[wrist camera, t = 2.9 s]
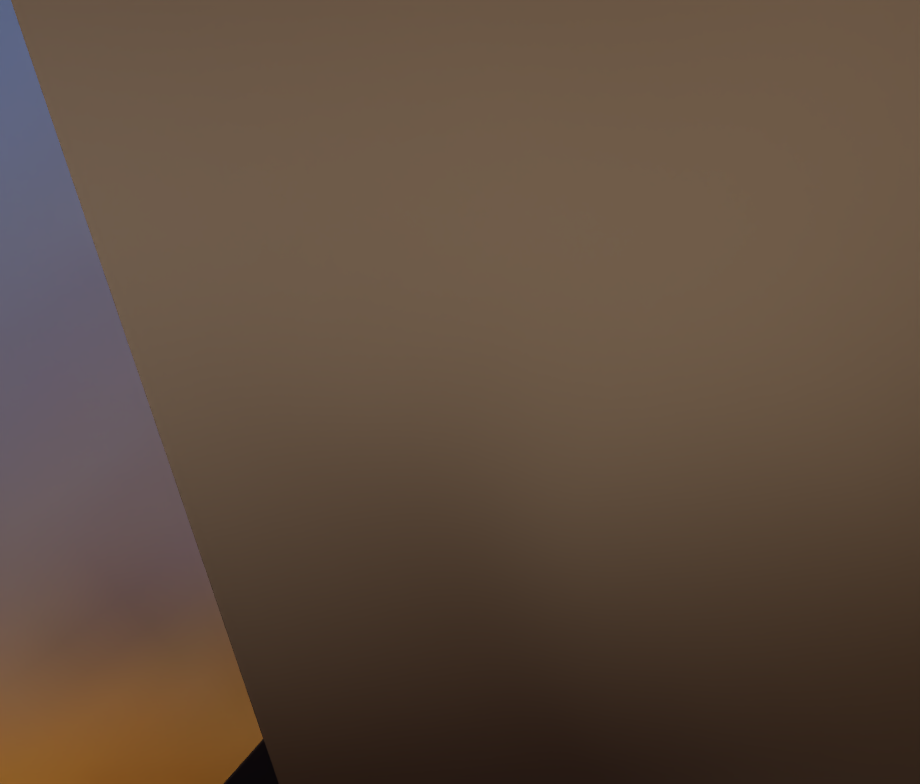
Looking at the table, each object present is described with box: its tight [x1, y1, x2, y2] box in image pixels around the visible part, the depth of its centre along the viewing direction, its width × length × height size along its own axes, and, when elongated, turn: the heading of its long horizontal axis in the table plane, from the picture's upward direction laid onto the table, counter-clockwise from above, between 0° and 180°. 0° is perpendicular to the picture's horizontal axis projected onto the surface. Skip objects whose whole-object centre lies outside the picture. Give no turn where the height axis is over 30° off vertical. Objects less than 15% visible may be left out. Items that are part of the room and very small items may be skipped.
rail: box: [11, 0, 920, 784], centre depth 7 cm, size 12×4×5 cm, turn 10°
